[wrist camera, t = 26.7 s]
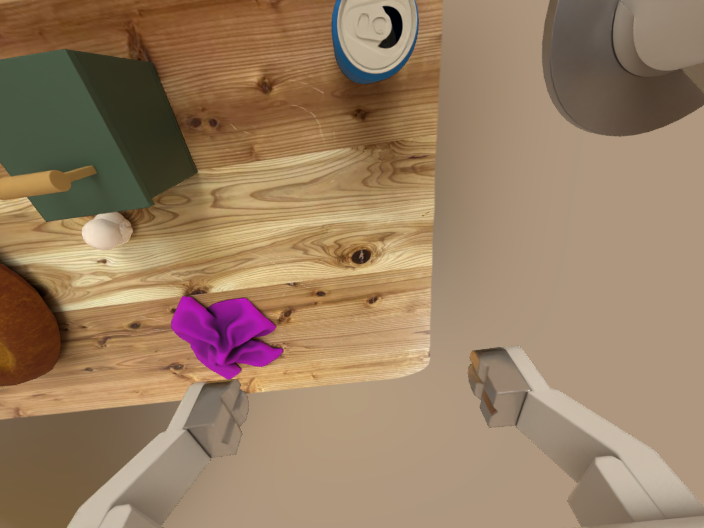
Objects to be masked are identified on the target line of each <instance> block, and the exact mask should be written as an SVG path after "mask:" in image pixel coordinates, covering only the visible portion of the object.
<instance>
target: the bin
mask: <svg viewBox="0 0 704 528" xmlns="http://www.w3.org/2000/svg"><path fill="white" fill-rule="evenodd" d="M74 53H75V54H76V56H77V58H78V60H79V62H80V64H81V66H82V68H83V69H84V71H85V73H86V75H87V77H88V79H89V81H90V83H91V85H92V86H93V88H94V90H95V92H96V94H97V96H98V98H99V100H100V102H101V103H102V105H103V107H104V109H105V111H106V113H107V115H108V117H109V119H110V120H111V122H112V124H113V126H114V128H115V130H116V132H117V134H118V136H119V137H120V139H121V141H122V143H123V145H124V147H125V149H126V151H127V153H128V154H129V156H130V158H131V160H132V162H133V164H134V166H135V168H136V170H137V171H138V173H139V175H140V177H141V179H142V181H143V183H144V185H145V186H146V188H147V190H148V192H149V194H150V196H151V198H153V197H155V196H157V195H159V194H161V193H162V192H164V191H166V190H168V189H169V188H171V187H173V186H175V185H176V184H178V183H180V182H182V181H184V180H185V179H187V178H189V177H191V176H192V175H194V174H196V173H198V172H197V169H196V167H195V164H194V162H193V160H192V157H191V155H190V152H189V150H188V147H187V145H186V143H185V140H184V138H183V135H182V133H181V131H180V128H179V126H178V123H177V121H176V119H175V116H174V114H173V111H172V109H171V107H170V104H169V102H168V99H167V97H166V94H165V92H164V90H163V87H162V85H161V82H160V80H159V78H158V75H157V73H156V70H155V68H154V66H153V63H151V62H145V61H139V60H132V59H126V58H119V57H113V56H106V55H100V54H94V53H87V52H81V51H74Z"/></svg>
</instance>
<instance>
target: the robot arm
mask: <svg viewBox="0 0 704 528" xmlns="http://www.w3.org/2000/svg"><path fill="white" fill-rule="evenodd" d="M613 44H614V50H615V53H616V56H617V58H618V60H619V62H620V63H621V65H622V66H623V67H624V68H625V69H626V70H627V71H629V72H630V73H632V74H634V75H637V76H641V77H656V76H661V75H665V74H668V73H671V72H673V71H676V70H679V69H682V68H686V67H689V66H693V65H696V64H700V63H704V0H619V2H618V5H617V9H616V13H615V17H614V24H613ZM470 360H471V362H472V364H471V365H470V366H469V367H468V378H469V382H470V386H471V389H472V391H473V393H474V395H475V396H476V397H478V398H479V399H480V400H481V404H480V409H481V411H482V414H483V416H484V418H485V420H486V422H487V425H488V427H489V428H491V427H504V426H516V428H518V429H519V430H520V431H521V432H522V433H523V434H524V435H525V436H526V437H528V439H530V440H531V441H532V442H533V443H534V444H535V445H536V446H537V447H538V448H539V449H541V450H542V451H543V452H544V453H545V454H546V455H547V456H548V457H549V458H550V459H552V460H553V461H554V462H555V463H556V464H557V465H558V466H559V467H560V468H561V469H563V470H564V471H565V472H566V473H567V474H568V475H569V476H570V477H571V478H572V479H574V480H575V481H576V482H577V485H576V486H575V488H574V489H573V490H572V492H571V493H570V495H569V497H568V500H567V501H568V503H569V505H570V507H571V509H572V511H573V512H574V514H575V516H576V518H577V520H578V522H579V524H580V525H581V527H577V528H704V506H703V505H702V504H701V503H700V501H699V500H698V499H697V498H696V497H695V496H694V495H693V493H692V492H691V491H690V490H689V489H688V488H687V487H686V486H685V484H684V483H683V482H682V481H681V480H680V479H679V478H678V476H677V475H676V474H675V473H674V472H673V471H672V470H671V469H670V467H669V466H668V465H667V464H666V463H665V462H664V460H663V459H662V458H661V457H660V456H659V455H658V454H657V453H656V451H655V450H653V449H652V448H650V447H649V446H647V445H645V444H644V443H642V442H641V441H639V440H637V439H636V438H634V437H633V436H631V435H629V434H628V433H626V432H624V431H623V430H621V429H620V428H618V427H616V426H615V425H613V424H612V423H610V422H609V421H607V420H605V419H604V418H602V417H600V416H599V415H597V414H596V413H594V412H592V411H590V410H589V409H588V408H586V407H584V406H583V405H581V404H580V403H578V402H576V401H575V400H573V399H572V398H570V397H568V396H567V395H565V394H564V393H562V392H560V391H559V390H557V389H551V388H550V387H549V386H548V384H547V383H546V382H545V380H544V379H543V378H542V376H541V375H540V373H539V372H538V371H537V369H536V368H535V366H534V365H533V364H532V362H531V361H530V359H529V358H528V357H527V355H526V354H525V352H524V351H523V350H522V348H521V347H519V346H508V347H497V348H489V349H482V350H474V351H472V352H471V353H470ZM240 386H241V384H240V382H239V380H238V379H229V380H219V381H207V382H198V383H193V384H192V385H191V386H190V387H189V388H188V389H187V391H186V393H185V395H184V397H183V399H182V401H181V403H180V405H179V407H178V409H177V411H176V413H175V415H174V417H173V418H172V420H171V422H170V424H169V426H168V428H167V430H166V432H161V433H160V434H159V435H158V436H157V437H156V438H154V439H153V440H152V441H151V442H150V443H149V444H148V445H147V446H146V447H145V448H144V449H142V451H140V452H139V453H138V454H137V455H136V456H135V457H134V458H133V459H132V460H131V461H129V462H128V463H127V464H126V465H125V466H124V467H123V468H122V469H121V470H120V471H119V472H117V473H116V474H115V475H114V476H113V477H112V478H111V479H110V480H109V481H108V482H107V483H105V484H104V485H103V486H102V487H101V488H100V489H99V490H98V491H97V492H96V493H95V494H93V495H92V496H91V497H90V498H89V499H88V500H87V501H86V502H85V503H84V504H83V505H82V506H80V508H79V509H78V510H77V512H76V514H75V515H74V517H73V519H72V520H71V522H70V523H69V525H68V527H67V528H163V527H162V526H161V525H162V524H163V523H164V521H165V520H166V519H167V517H168V516H169V515H170V514H171V512H172V511H173V510H174V508H175V507H176V506H177V504H178V503H179V502H180V500H181V499H182V498H183V496H184V495H185V494H186V492H187V491H188V490H189V488H190V487H191V486H192V484H193V483H194V482H195V480H196V479H197V478H198V477H199V475H200V474H201V473H202V471H203V470H204V469H205V467H206V466H207V464H208V463H209V462H210V461H211V458H215V457H222V456H229V455H236V453H237V450H238V446H239V443H240V439H241V436H242V431H241V429H240V426H241V425H242V424H243V423H244V422H245V421H246V418H247V415H248V409H249V401H248V396H247V394H246V392H244V391H242V390H240Z"/></svg>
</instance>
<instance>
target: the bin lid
mask: <svg viewBox="0 0 704 528" xmlns="http://www.w3.org/2000/svg"><path fill="white" fill-rule="evenodd" d="M0 163H1V164H2V165H3V167H4V168H5V169H6V171H7V172H8V173H9V174H10V176H11V177H4V178H0V199H1V200H9V199H16V198H23V197H27V198H28V199H29V200H30V202H31V203H32V204H33V205H34V207H35V208H36V209H37V211H38V212H39V213H40V214H41V216H42V217H43V218H44V220H45V221H46V222H48V221H55V220H62V219H69V218H76V217H83V216H91V215H98V214H105V213H112V212H119V211H126V210H133V209H140V208H147V207H151V206H153V205H155V203H154V202H153V200H152V198H151V196H150V194H149V192H148V190H147V188H146V186H145V185H144V183H143V181H142V179H141V177H140V175H139V173H138V171H137V170H136V168H135V166H134V164H133V162H132V160H131V158H130V156H129V154H128V153H127V151H126V149H125V147H124V145H123V143H122V141H121V139H120V137H119V136H118V134H117V132H116V130H115V128H114V126H113V124H112V122H111V120H110V119H109V117H108V115H107V113H106V111H105V109H104V107H103V105H102V103H101V102H100V100H99V98H98V96H97V94H96V92H95V90H94V88H93V86H92V85H91V83H90V81H89V79H88V77H87V75H86V73H85V71H84V69H83V68H82V66H81V64H80V62H79V60H78V58H77V56H76V54H75V53H74V51H73V50H68V49H62V50H56V51H50V52H43V53H37V54H31V55H25V56H19V57H13V58H7V59H1V60H0Z"/></svg>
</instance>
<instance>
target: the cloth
mask: <svg viewBox="0 0 704 528" xmlns="http://www.w3.org/2000/svg"><path fill="white" fill-rule="evenodd" d="M171 328H172V330H173V331H174V332H175V333H176V334H177V335H178V336H179V337H180V338H182V339H183V340H185V341H187V342H189V343H190V344H191V348H192V349H193V351H194V352H195V355H196V357H197V358H198V359H199V360H200V361H201V362H202V363H203V364H204V365H205V366H206V367H208V368H209V369H211V370H212V371H214V372H216V373H218V374H219V375H221V376H223V377H225V378H226V379H231V378H233V377H234V376H236V375H237V374H238V373H240V371H241V368H239V367H238V366H237V365H236V364H235V363H234V362H237V363H244V364H249V365H252V366H257V367H263V366H266V365H268V364H269V363H271V362H272V361H274V360H275V359H277V358H278V357H279V356H280V355H281V353H282V352H283V350H282V349H276V348H271V347H270V346H268V345H266V344H264V343H262V342H261V341H259V340H251V339H252V338H254V337H261V336H265V335H267V334H269V333H271V332H273V331H274V330H275V328H276V326H275V325H274V324H273V323H272V322H271V321H269V320H268V319H267V318H266V317H265V316H264V315H263V314H262V313H260V312H259V311H258V310H257V309H256V308H255V307H254V306H253V305H252V304H251V303H250V302H249V301H248V299H245V298H240V299H232V300H226V301H222V302H218V303H215V304H213V305H211V306H210V307H209V308H207V309H205V308H204V307H203V306H202V305H200V304H199V303H198V302H197V301H195V300H194V299H193V298H191V297H185V296H182V298H181V300H180V302H179V305H178V307H177V309H176V311H175V314H174V316H173V319H172V321H171Z"/></svg>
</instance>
